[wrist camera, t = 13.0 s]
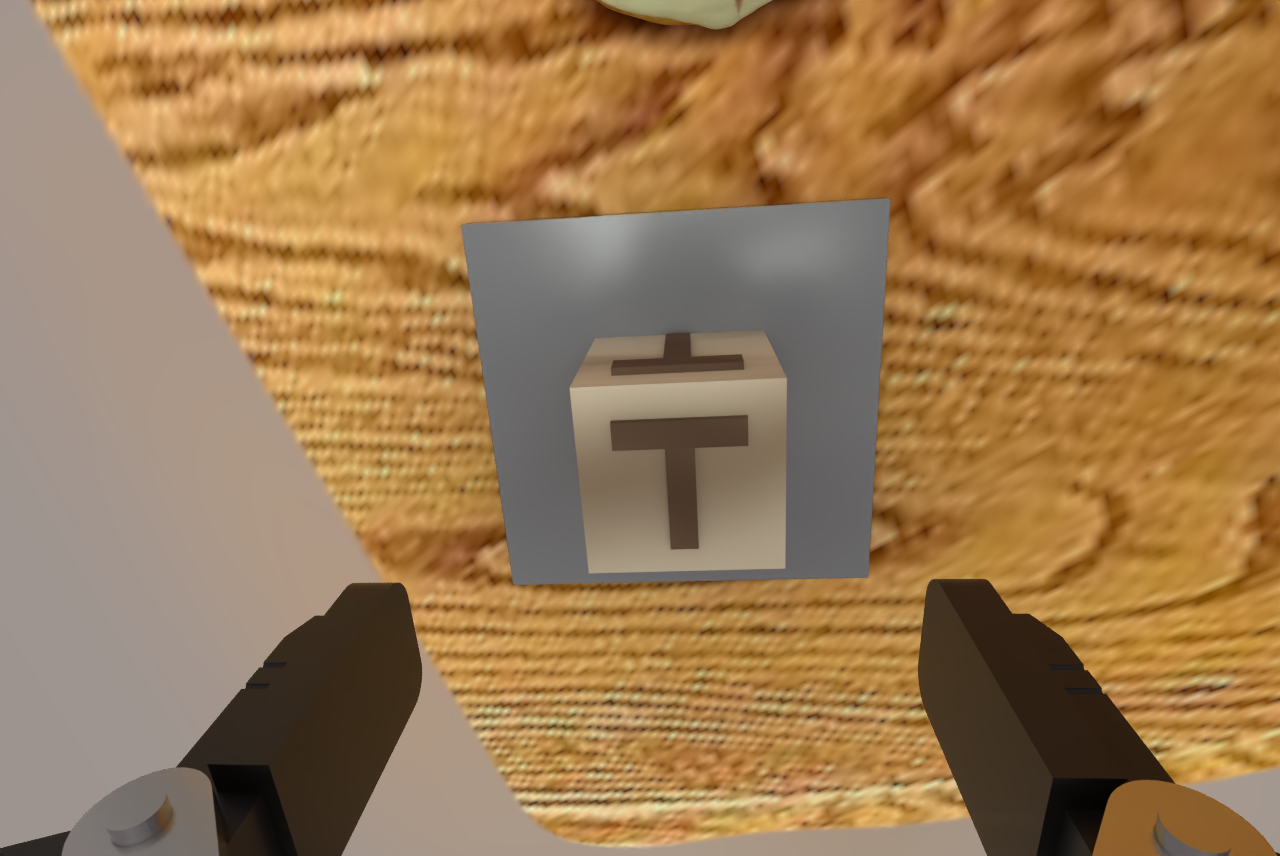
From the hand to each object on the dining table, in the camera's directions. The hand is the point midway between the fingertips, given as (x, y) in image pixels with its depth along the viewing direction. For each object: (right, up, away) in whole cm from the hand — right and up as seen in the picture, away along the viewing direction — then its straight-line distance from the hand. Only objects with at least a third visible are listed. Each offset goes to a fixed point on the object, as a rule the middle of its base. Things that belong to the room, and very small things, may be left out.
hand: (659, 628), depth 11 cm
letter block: (+1, +4, +11) cm, 11 cm away
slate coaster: (+1, +4, +11) cm, 12 cm away
